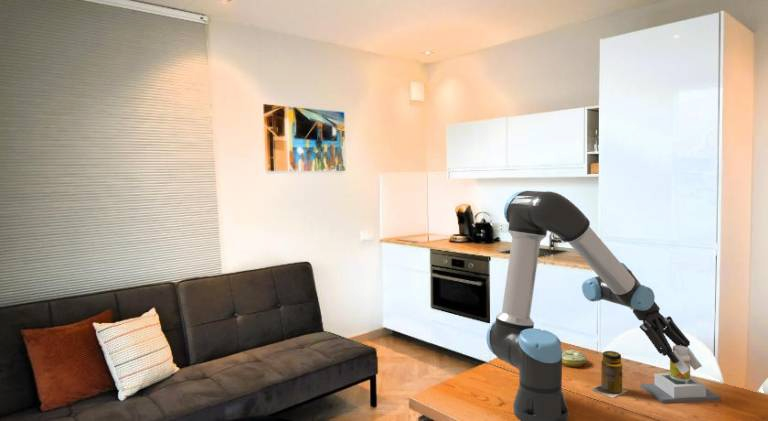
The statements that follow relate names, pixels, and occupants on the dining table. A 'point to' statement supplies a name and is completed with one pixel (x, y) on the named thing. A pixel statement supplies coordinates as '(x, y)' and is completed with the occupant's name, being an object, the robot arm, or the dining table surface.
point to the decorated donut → (573, 358)
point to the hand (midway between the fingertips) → (692, 369)
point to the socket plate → (678, 390)
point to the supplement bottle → (685, 357)
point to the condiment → (611, 375)
